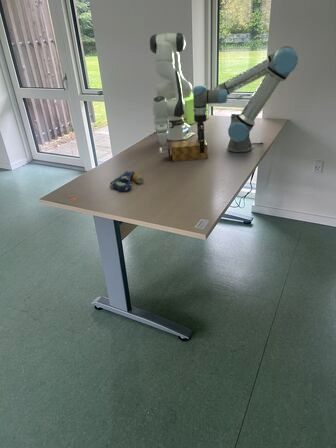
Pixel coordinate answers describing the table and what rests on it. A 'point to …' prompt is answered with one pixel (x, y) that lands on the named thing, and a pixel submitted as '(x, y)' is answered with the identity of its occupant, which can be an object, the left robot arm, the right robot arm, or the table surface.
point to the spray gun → (126, 180)
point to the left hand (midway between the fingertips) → (163, 147)
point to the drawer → (167, 151)
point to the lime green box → (190, 109)
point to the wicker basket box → (187, 150)
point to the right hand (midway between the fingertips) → (201, 149)
